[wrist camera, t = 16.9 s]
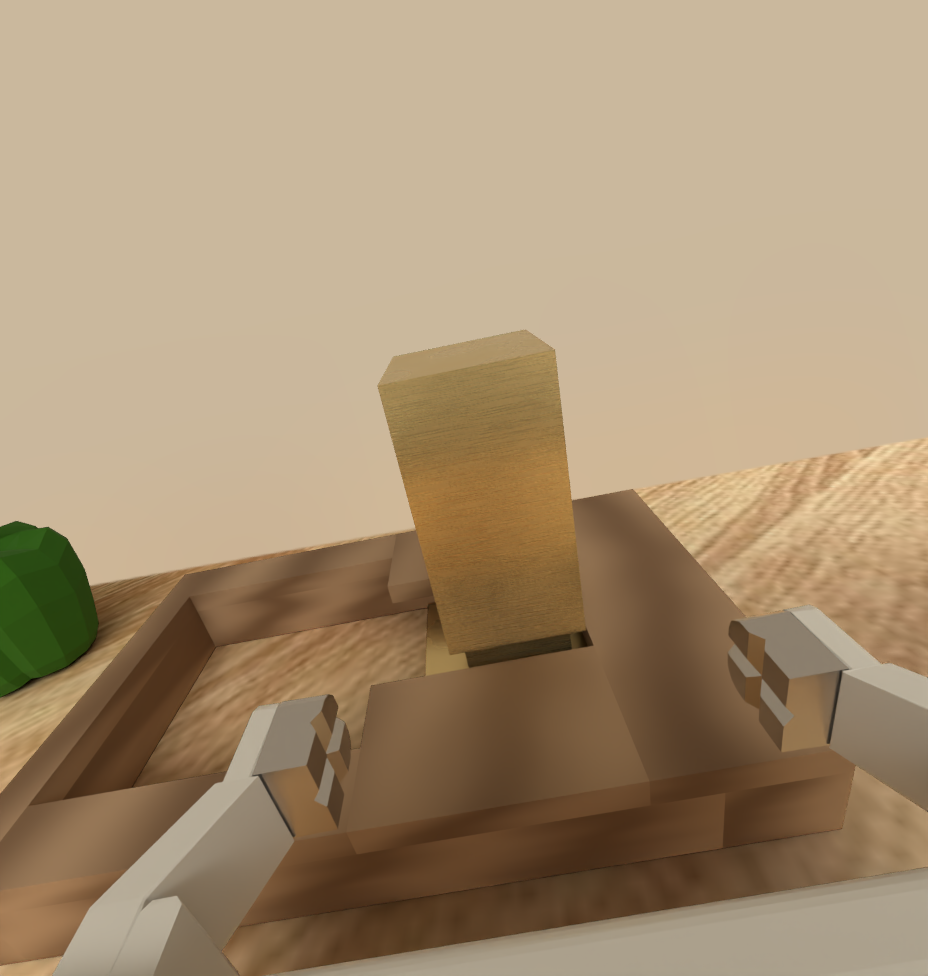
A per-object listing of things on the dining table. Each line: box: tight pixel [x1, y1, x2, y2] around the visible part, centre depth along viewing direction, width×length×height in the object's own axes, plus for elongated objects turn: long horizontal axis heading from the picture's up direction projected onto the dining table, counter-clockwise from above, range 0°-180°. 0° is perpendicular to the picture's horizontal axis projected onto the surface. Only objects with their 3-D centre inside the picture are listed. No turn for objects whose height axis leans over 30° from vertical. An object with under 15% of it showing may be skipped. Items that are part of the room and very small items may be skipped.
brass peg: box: [378, 330, 588, 676], centre depth 18 cm, size 8×8×14 cm
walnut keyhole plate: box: [0, 489, 856, 966], centre depth 21 cm, size 26×16×4 cm, turn 93°
